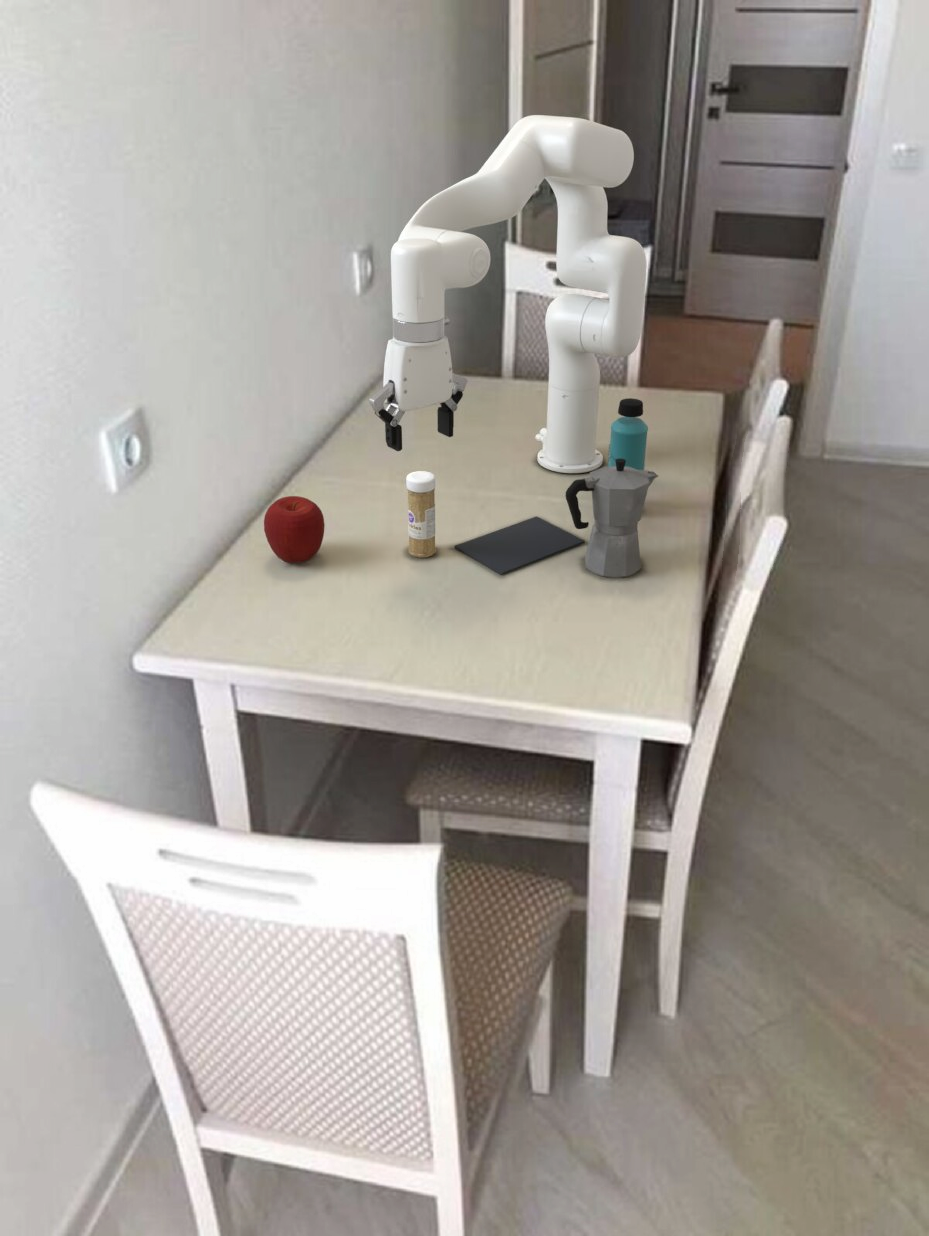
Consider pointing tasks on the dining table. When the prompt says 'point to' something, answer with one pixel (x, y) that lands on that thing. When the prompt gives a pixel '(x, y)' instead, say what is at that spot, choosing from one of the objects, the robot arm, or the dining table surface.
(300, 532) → the apple
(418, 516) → the sprinkles bottle
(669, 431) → the dining table surface
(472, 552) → the mat
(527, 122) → the robot arm
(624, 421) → the beverage bottle
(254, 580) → the dining table surface
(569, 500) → the coffeepot
